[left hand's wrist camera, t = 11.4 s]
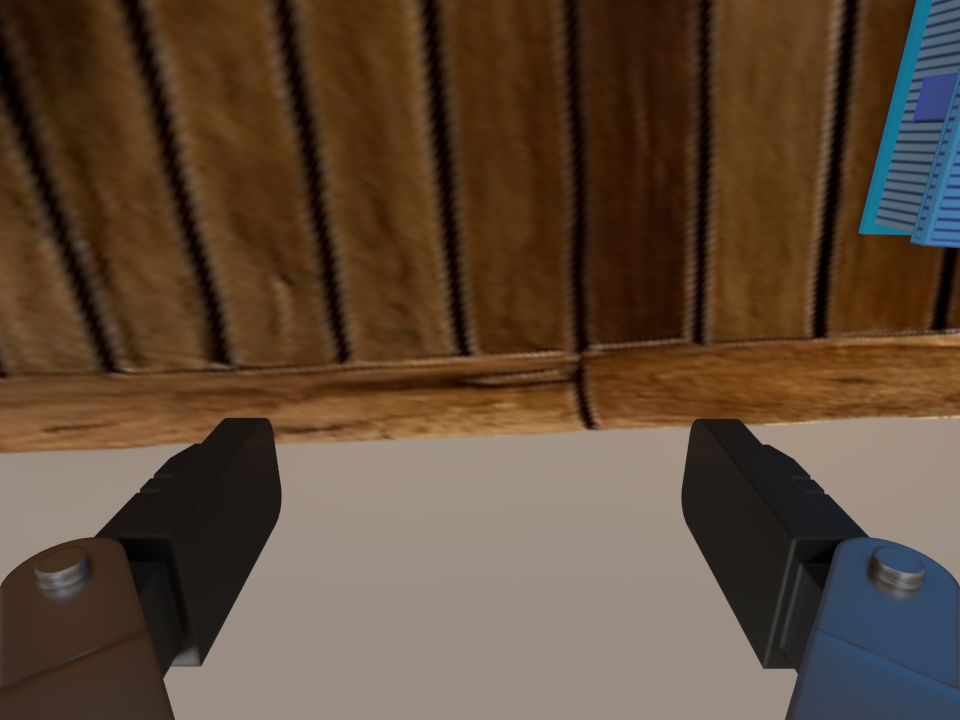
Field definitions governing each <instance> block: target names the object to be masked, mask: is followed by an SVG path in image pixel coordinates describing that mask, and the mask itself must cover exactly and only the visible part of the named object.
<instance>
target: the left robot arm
mask: <svg viewBox="0 0 960 720" xmlns="http://www.w3.org/2000/svg"><path fill="white" fill-rule="evenodd" d="M281 497H282V494H281V484H280V477H279V470H278V463H277V456H276V449H275V442H274V435H273V429H272V425H271V423H270V421H269V420H268V419H267V418H225V419H224V420H222V421H221V423H220V424H219V425H218V426H217V427H216V428H215V429H214V430H213V431H212V432H211V434H210V435H209V436H208V437H207V438H206V439H205V440H204V441H203V442H202V444H194V445H192V446H190V447H188V448H187V449H185V450H183V451H182V452H180V453H178V454H176V455H174V456H173V457H171V458H170V459H169V460H168V461H167V462H166V463H165V464H164V465H163V466H162V467H161V468H160V469H159V470H158V471H157V472H156V473H155V474H154V478H151V479H149V480H148V482H147V483H146V484H145V485H144V486H143V487H142V488H141V489H140V493H136V494H135V495H134V496H133V497H132V498H131V499H130V500H129V501H128V502H127V503H126V504H125V505H124V507H123V508H122V509H121V510H120V511H119V512H118V513H117V514H116V515H115V516H114V517H113V518H112V519H111V520H110V521H109V522H108V523H107V524H106V525H105V526H104V527H103V528H102V529H101V530H100V531H99V533H98V534H97V535H96V536H95V537H90V538H82V539H77V540H72V541H69V542H65V543H62V544H59V545H56V546H53V547H51V548H49V549H46V550H44V551H42V552H40V553H38V554H36V555H34V556H32V557H31V558H29V559H28V560H26V561H24V562H23V563H21V564H20V565H19V566H18V567H16V568H15V569H14V570H13V571H12V572H11V573H10V574H9V575H8V576H7V577H6V578H5V580H4V581H3V582H2V584H1V586H0V720H175V718H174V715H173V711H172V708H171V704H170V701H169V697H168V694H167V691H166V687H165V684H164V680H163V678H164V676H165V675H166V673H167V671H168V670H169V668H170V666H202V664H203V662H204V660H205V658H206V656H207V654H208V652H209V650H210V648H211V647H212V645H213V643H214V641H215V639H216V637H217V635H218V633H219V631H220V629H221V628H222V626H223V624H224V622H225V620H226V618H227V616H228V614H229V612H230V610H231V608H232V607H233V605H234V603H235V601H236V599H237V597H238V595H239V593H240V591H241V589H242V588H243V586H244V584H245V582H246V580H247V578H248V576H249V574H250V572H251V570H252V568H253V567H254V565H255V563H256V561H257V559H258V557H259V555H260V553H261V551H262V549H263V548H264V546H265V544H266V542H267V540H268V538H269V536H270V534H271V532H272V530H273V529H274V527H275V525H276V522H277V520H278V517H279V513H280V509H281ZM682 509H683V515H684V518H685V521H686V524H687V526H688V527H689V529H690V531H691V533H692V535H693V537H694V539H695V541H696V543H697V544H698V546H699V548H700V550H701V552H702V554H703V556H704V558H705V560H706V561H707V563H708V565H709V567H710V569H711V571H712V573H713V574H714V576H715V578H716V580H717V582H718V584H719V586H720V588H721V589H722V591H723V593H724V595H725V597H726V599H727V601H728V603H729V605H730V607H731V608H732V610H733V612H734V614H735V616H736V618H737V620H738V622H739V623H740V625H741V627H742V629H743V631H744V633H745V635H746V637H747V638H748V640H749V642H750V644H751V646H752V648H753V650H754V652H755V654H756V655H757V657H758V659H759V661H760V663H761V665H762V667H763V668H764V669H795V670H796V672H797V674H798V677H797V680H796V684H795V687H794V691H793V694H792V697H791V701H790V704H789V708H788V711H787V715H786V718H785V720H960V586H959V584H958V582H957V581H956V580H955V578H954V577H953V576H952V575H951V574H950V573H949V572H948V571H947V570H946V569H945V568H944V567H942V566H941V565H940V564H939V563H937V562H936V561H934V560H933V559H931V558H929V557H928V556H926V555H924V554H922V553H920V552H918V551H916V550H914V549H912V548H909V547H907V546H904V545H901V544H898V543H895V542H891V541H888V540H883V539H878V538H870V537H869V536H868V535H867V534H866V533H865V532H864V531H863V530H862V529H861V528H860V527H859V526H858V525H857V524H856V523H855V522H854V521H853V520H852V519H851V518H850V517H849V516H848V515H847V513H846V512H845V511H844V510H843V509H842V508H841V507H840V506H839V505H838V504H837V503H836V502H835V501H834V500H833V499H832V498H831V497H830V496H829V495H828V494H824V490H823V489H822V488H821V487H820V486H819V485H818V484H817V483H816V482H815V481H814V480H811V479H810V475H809V474H808V473H807V472H806V471H805V470H804V469H803V468H802V467H801V466H800V465H799V464H798V463H797V462H796V461H795V460H794V459H793V458H791V457H789V456H787V455H786V454H784V453H782V452H780V451H779V450H777V449H775V448H774V447H772V446H770V445H762V444H761V443H760V441H759V440H758V439H757V438H756V437H755V436H754V435H753V434H752V433H751V432H750V431H749V429H748V428H747V427H746V426H745V425H744V424H743V423H742V422H741V421H740V420H738V419H696V420H695V421H694V422H693V424H692V427H691V431H690V437H689V444H688V451H687V458H686V465H685V471H684V478H683V485H682Z"/></svg>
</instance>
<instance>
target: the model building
mask: <svg viewBox="0 0 960 720" xmlns="http://www.w3.org/2000/svg"><path fill="white" fill-rule="evenodd" d="M858 233H861V234H894V235H912V236H911V239H910V242H911V243H915V244H919V245H924V246H940V247H957V248H960V0H916V4H915V8H914V12H913V16H912V20H911V24H910V28H909V32H908V36H907V40H906V44H905V48H904V52H903V56H902V60H901V64H900V68H899V72H898V76H897V80H896V84H895V88H894V92H893V96H892V100H891V104H890V108H889V112H888V116H887V120H886V124H885V128H884V132H883V136H882V140H881V144H880V148H879V152H878V156H877V160H876V164H875V168H874V172H873V176H872V180H871V184H870V188H869V192H868V196H867V200H866V204H865V208H864V212H863V216H862V220H861V224H860V228H859V232H858Z"/></svg>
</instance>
